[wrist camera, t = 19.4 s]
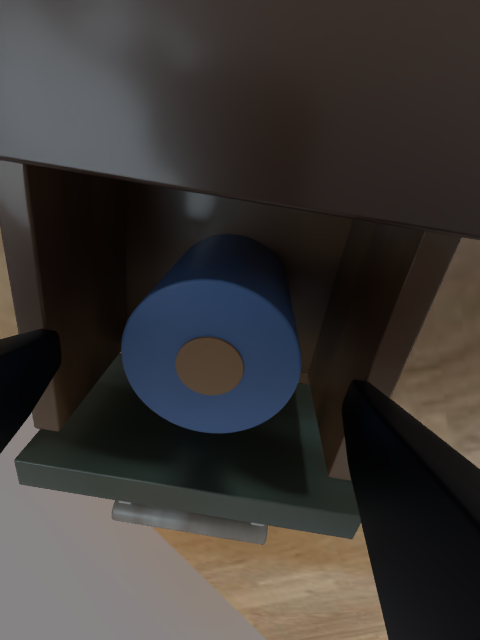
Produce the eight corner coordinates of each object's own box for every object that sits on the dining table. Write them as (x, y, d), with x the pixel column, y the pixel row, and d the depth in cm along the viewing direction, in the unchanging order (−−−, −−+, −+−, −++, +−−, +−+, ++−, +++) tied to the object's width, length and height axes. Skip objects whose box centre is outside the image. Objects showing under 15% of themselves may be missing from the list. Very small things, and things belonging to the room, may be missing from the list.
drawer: (300, 468, 19) (317, 611, 13) (109, 437, 19) (36, 564, 13) (411, 135, 12) (573, 103, 6) (96, 82, 12) (-92, -9, 6)
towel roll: (275, 350, 15) (280, 448, 10) (169, 333, 15) (119, 422, 10) (300, 244, 12) (323, 298, 7) (176, 224, 12) (116, 264, 7)
